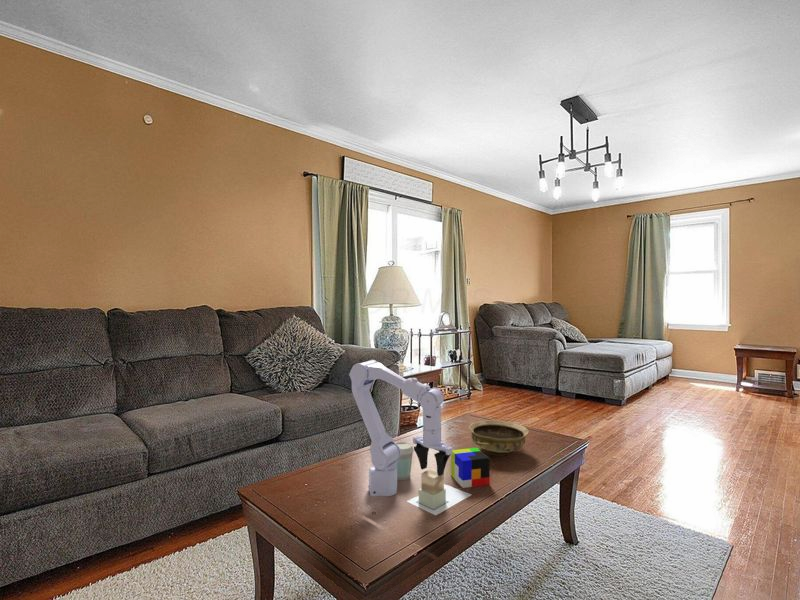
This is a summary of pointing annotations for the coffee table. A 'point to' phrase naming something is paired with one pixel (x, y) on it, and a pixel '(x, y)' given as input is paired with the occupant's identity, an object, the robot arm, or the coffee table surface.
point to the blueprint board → (451, 499)
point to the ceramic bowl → (498, 436)
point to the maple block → (432, 481)
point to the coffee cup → (404, 460)
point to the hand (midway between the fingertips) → (432, 471)
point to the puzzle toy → (470, 467)
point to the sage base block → (432, 498)
